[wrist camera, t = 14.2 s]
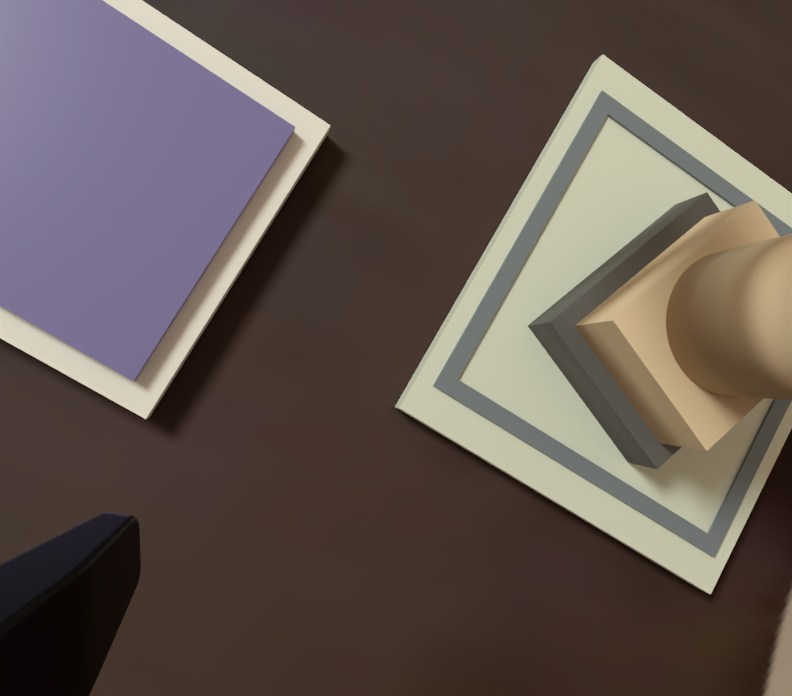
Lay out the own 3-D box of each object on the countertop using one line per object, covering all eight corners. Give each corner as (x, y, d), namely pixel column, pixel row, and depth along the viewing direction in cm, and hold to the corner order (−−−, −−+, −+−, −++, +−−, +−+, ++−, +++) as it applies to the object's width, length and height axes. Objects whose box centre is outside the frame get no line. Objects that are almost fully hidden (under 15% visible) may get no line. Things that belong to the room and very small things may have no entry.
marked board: (697, 588, 22) (712, 595, 21) (394, 407, 20) (400, 408, 19) (859, 258, 23) (878, 254, 23) (593, 63, 22) (604, 52, 21)
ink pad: (149, 417, 19) (143, 420, 17) (-188, 228, 17) (-219, 218, 16) (326, 135, 20) (332, 120, 19) (26, -64, 18) (12, -94, 17)
